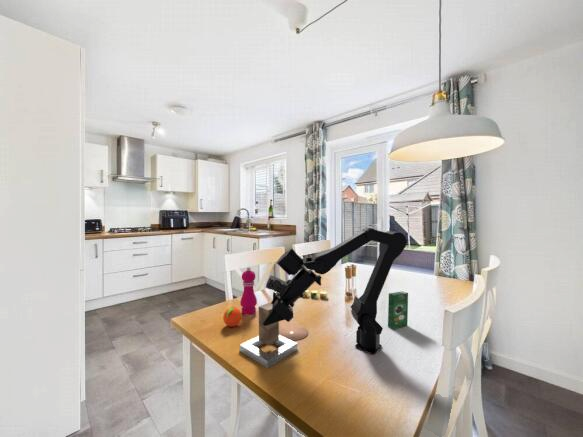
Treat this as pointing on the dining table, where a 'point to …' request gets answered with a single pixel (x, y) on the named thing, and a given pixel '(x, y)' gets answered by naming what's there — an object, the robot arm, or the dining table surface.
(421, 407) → the dining table surface
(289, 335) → the terracotta coaster
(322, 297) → the yellow cube row
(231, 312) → the clementine
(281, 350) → the metal collar stand
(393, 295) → the coffee box
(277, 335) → the walnut block
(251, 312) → the pepper mill
